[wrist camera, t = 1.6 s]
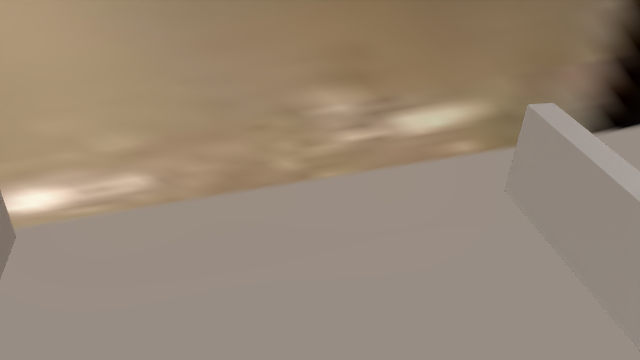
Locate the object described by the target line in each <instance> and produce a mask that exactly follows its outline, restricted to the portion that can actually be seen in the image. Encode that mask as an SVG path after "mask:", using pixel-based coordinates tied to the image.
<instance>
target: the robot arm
mask: <svg viewBox="0 0 640 360" xmlns="http://www.w3.org/2000/svg"><path fill="white" fill-rule="evenodd" d="M505 192H506V193H507V194H508V195H509V196H510V198H511V199H512V200H513V201H514V203H515V204H516V205H517V206H518V207H519V209H520V210H521V211H522V212H523V213H524V215H525V216H526V217H527V218H528V219H529V220H530V222H531V223H532V224H533V225H534V226H535V227H536V229H537V230H538V231H539V232H540V234H541V235H542V236H543V237H544V238H545V240H546V241H547V242H548V243H549V244H550V245H551V247H552V248H553V249H554V250H555V251H556V253H557V254H558V255H559V256H560V257H561V258H562V260H563V261H564V262H565V263H566V264H567V266H568V267H569V268H570V269H571V270H572V272H573V273H574V274H575V275H576V276H577V278H578V279H579V280H580V281H581V282H582V284H583V285H584V286H585V287H586V288H587V289H588V291H589V292H590V293H591V294H592V295H593V297H594V298H595V299H596V300H597V301H598V303H599V304H600V305H601V306H602V307H603V309H604V310H605V311H606V312H607V313H608V314H609V316H610V317H611V318H612V319H613V320H614V322H615V323H616V324H617V325H618V326H619V328H620V329H621V330H622V331H623V332H624V334H625V335H626V336H627V337H628V338H629V339H630V341H631V342H632V343H633V344H634V345H635V347H636V348H637V349H638V350H639V351H640V172H639V171H638V170H637V169H635V168H634V167H633V166H632V165H631V164H629V163H628V162H627V161H626V160H624V159H623V158H622V157H621V156H619V155H618V154H617V153H616V152H614V151H613V150H612V149H611V148H609V147H608V146H607V145H606V144H604V143H603V142H602V141H601V140H599V139H598V138H597V137H596V136H594V135H593V134H592V133H591V132H589V131H588V130H587V129H586V128H584V127H583V126H582V125H581V124H579V123H578V122H577V121H576V120H574V119H573V118H572V117H571V116H569V115H568V114H567V113H566V112H564V111H563V110H562V109H561V108H559V107H558V106H557V105H556V104H554V103H544V104H529V105H527V108H526V112H525V115H524V119H523V123H522V127H521V130H520V134H519V138H518V142H517V145H516V149H515V153H514V157H513V160H512V165H511V168H510V172H509V175H508V179H507V183H506V186H505ZM15 239H16V235H15V232H14V229H13V226H12V223H11V220H10V217H9V214H8V212H7V209H6V206H5V203H4V200H3V197H2V194H1V191H0V278H1V276H2V273H3V270H4V268H5V265H6V262H7V260H8V257H9V254H10V252H11V249H12V247H13V244H14V241H15Z"/></svg>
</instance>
